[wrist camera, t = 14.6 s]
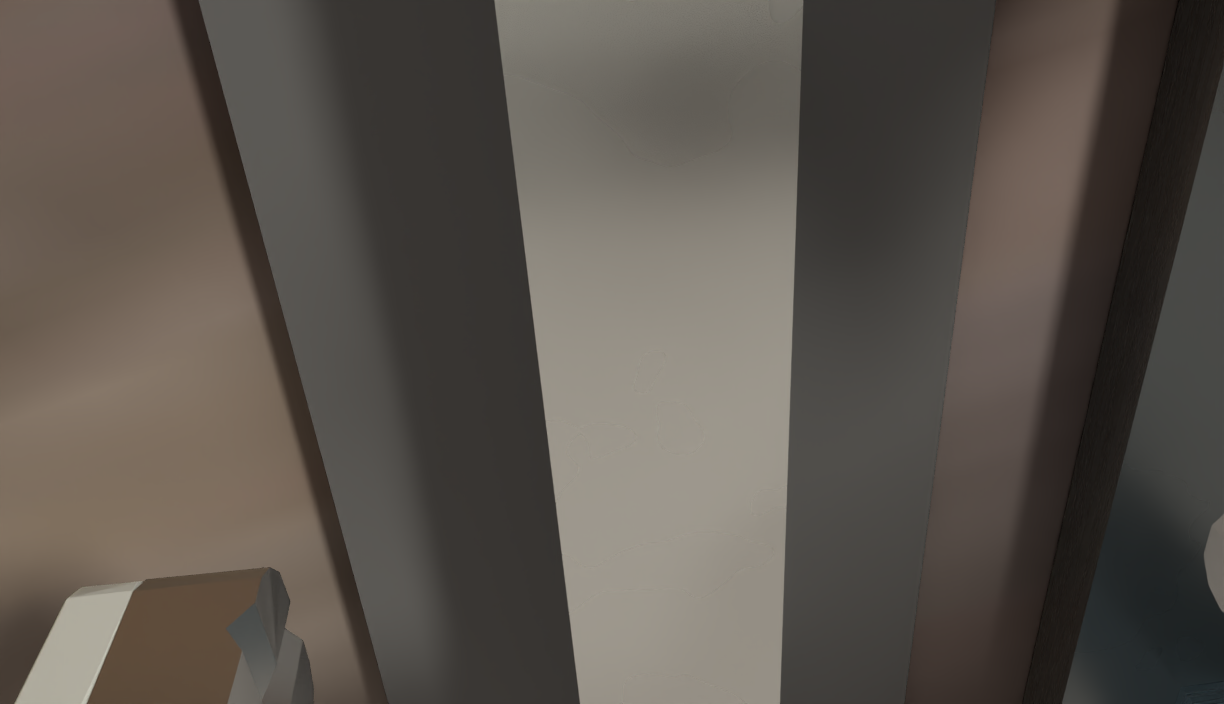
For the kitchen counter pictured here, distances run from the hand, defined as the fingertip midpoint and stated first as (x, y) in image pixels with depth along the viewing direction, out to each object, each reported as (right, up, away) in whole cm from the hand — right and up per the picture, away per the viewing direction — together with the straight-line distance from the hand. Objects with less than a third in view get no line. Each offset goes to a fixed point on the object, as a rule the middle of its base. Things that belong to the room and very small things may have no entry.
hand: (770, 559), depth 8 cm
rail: (-1, +3, +6) cm, 7 cm away
